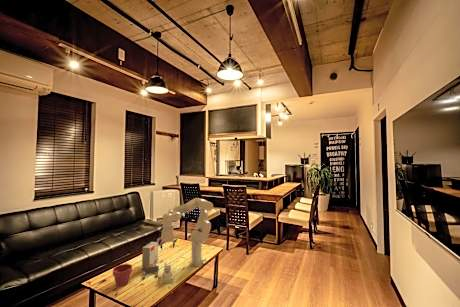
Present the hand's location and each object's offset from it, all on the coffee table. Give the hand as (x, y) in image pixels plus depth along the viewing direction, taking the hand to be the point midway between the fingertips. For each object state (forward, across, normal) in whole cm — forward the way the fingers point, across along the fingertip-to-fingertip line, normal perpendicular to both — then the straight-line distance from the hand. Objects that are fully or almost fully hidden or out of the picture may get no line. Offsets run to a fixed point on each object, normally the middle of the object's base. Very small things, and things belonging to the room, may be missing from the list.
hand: (167, 248), depth 188 cm
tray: (+25, 0, +3) cm, 25 cm away
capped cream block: (+24, 0, +2) cm, 24 cm away
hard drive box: (+25, +17, -25) cm, 39 cm away
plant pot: (+24, +35, +1) cm, 43 cm away
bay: (+25, +14, -8) cm, 29 cm away
